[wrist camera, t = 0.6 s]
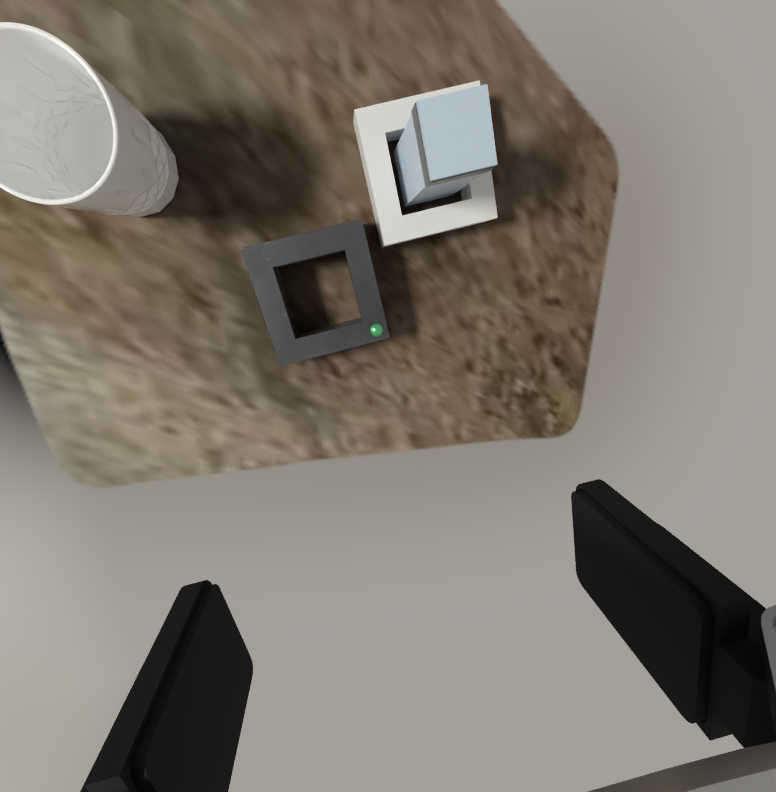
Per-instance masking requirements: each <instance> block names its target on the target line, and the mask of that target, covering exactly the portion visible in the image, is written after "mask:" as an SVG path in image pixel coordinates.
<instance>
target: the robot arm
mask: <svg viewBox="0 0 776 792" xmlns="http://www.w3.org/2000/svg"><path fill="white" fill-rule="evenodd" d="M571 499H572V515H573V530H574V545H575V561H576V572H577V576H578V579H579V581H580V583H581V584H582V586H583V588H584V589H585V590H586V592H587V593H588V594H589V596H590V597H591V598H592V599H593V601H594V602H595V603H596V605H597V606H598V607H599V608H600V610H601V611H602V612H603V614H604V615H605V616H606V618H607V619H608V620H609V621H610V623H611V624H612V625H613V627H614V628H615V629H616V631H617V632H618V633H619V634H620V636H621V637H622V638H623V640H624V641H625V642H626V644H627V645H628V646H629V647H630V649H631V650H632V651H633V652H634V654H635V655H636V656H637V658H638V659H639V660H640V662H641V663H642V664H643V666H644V667H645V668H646V669H647V671H648V672H649V673H650V675H651V676H652V677H653V679H654V680H655V681H656V682H657V684H658V685H659V686H660V688H661V689H662V690H663V691H664V693H665V694H666V695H667V697H668V698H669V699H670V701H671V702H672V703H673V704H674V706H675V707H676V708H677V710H678V711H679V712H680V714H681V715H682V716H683V717H684V718H685V719H686V720H687V721H688V722H690V723H697V725H698V726H699V727H700V728H701V730H702V731H703V732H704V733H705V735H706V736H707V737H708V738H709V740H714V739H717V738H721V737H724V736H727V735H730V734H733V735H734V737H735V738H736V739H737V740H738V741H739V743H740V744H741V745H742V746H743V747H744V748H743V749H739V750H736V751H732V752H728V753H724V754H720V755H717V756H713V757H709V758H706V759H702V760H698V761H694V762H690V763H686V764H683V765H679V766H675V767H671V768H668V769H664V770H661V771H657V772H654V773H650V774H647V775H644V776H640V777H637V778H633V779H630V780H626V781H623V782H619V783H616V784H612V785H609V786H606V787H602V788H599V789H595V790H592V791H588V792H776V605H774V606H772V607H769V608H767V609H766V608H765V607H763V606H762V605H761V604H760V603H758V602H757V601H756V600H754V599H753V598H752V597H751V596H749V595H748V594H747V593H746V592H744V591H743V590H742V589H741V588H739V587H738V586H737V585H736V584H734V583H733V582H732V581H730V580H729V579H728V578H727V577H725V576H724V575H723V574H722V573H720V572H719V571H718V570H717V569H715V568H714V567H713V566H712V565H710V564H709V563H708V562H707V561H705V560H704V559H703V558H701V557H700V556H699V555H698V554H696V553H695V552H694V551H693V550H691V549H690V548H689V547H688V546H686V545H685V544H684V543H683V542H681V541H680V540H679V539H678V538H676V537H675V536H673V535H672V534H671V533H670V532H669V531H667V530H666V529H665V528H664V527H662V526H661V525H659V524H657V523H656V522H654V521H653V520H652V519H651V518H649V517H648V516H647V515H646V514H644V513H643V512H642V511H641V510H639V509H638V508H637V507H635V506H634V505H633V504H632V503H630V502H629V501H628V500H627V499H625V498H624V497H623V496H622V495H620V494H619V493H618V492H617V491H615V490H614V489H613V488H612V487H610V486H609V485H608V484H607V483H605V482H604V481H602V480H594V481H590V482H586V483H582V484H579V485H578V486H577V487H576V491H575V492H573V493H572V495H571ZM252 675H253V664H252V660H251V657H250V655H249V652H248V650H247V648H246V646H245V643H244V641H243V639H242V637H241V635H240V632H239V630H238V628H237V626H236V623H235V621H234V619H233V617H232V615H231V612H230V610H229V608H228V605H227V603H226V601H225V599H224V597H223V594H222V592H221V590H220V588H219V586H218V585H217V584H214V585H212V584H211V582H210V581H208V580H205V581H201V582H197V583H193V584H190V585H186V586H184V587H182V588H181V590H180V591H179V593H178V596H177V597H176V600H175V602H174V603H173V606H172V608H171V610H170V612H169V614H168V616H167V618H166V620H165V622H164V624H163V626H162V628H161V630H160V632H159V634H158V636H157V638H156V640H155V642H154V644H153V646H152V648H151V650H150V652H149V654H148V656H147V659H146V661H145V662H144V664H143V666H142V668H141V670H140V672H139V674H138V676H137V678H136V680H135V682H134V684H133V686H132V688H131V690H130V692H129V694H128V696H127V698H126V700H125V702H124V704H123V706H122V708H121V710H120V712H119V714H118V716H117V719H116V721H115V722H114V725H113V727H112V729H111V731H110V733H109V735H108V737H107V739H106V741H105V743H104V745H103V747H102V749H101V751H100V753H99V755H98V757H97V759H96V761H95V763H94V765H93V767H92V769H91V771H90V773H89V775H88V777H87V779H86V782H85V783H84V785H83V788H82V790H81V791H80V792H228V789H229V785H230V780H231V775H232V770H233V766H234V760H235V756H236V751H237V747H238V742H239V737H240V732H241V728H242V723H243V718H244V713H245V709H246V703H247V699H248V694H249V690H250V684H251V680H252Z"/></svg>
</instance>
